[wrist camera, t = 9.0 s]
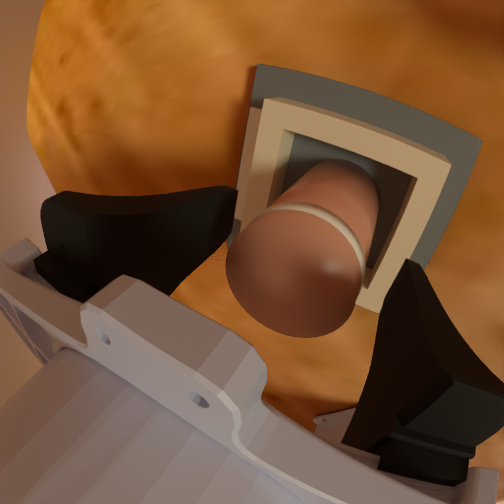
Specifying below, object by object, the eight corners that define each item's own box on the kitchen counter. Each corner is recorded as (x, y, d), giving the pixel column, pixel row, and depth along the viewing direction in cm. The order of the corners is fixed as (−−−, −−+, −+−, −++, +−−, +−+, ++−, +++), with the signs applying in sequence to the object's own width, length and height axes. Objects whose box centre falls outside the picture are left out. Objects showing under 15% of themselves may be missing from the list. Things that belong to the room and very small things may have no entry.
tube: (336, 251, 17) (287, 353, 11) (283, 192, 17) (202, 267, 11) (397, 207, 14) (387, 306, 8) (340, 140, 14) (284, 188, 8)
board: (394, 312, 18) (390, 342, 16) (232, 242, 21) (210, 262, 19) (478, 138, 11) (493, 148, 9) (263, 64, 14) (239, 61, 12)
